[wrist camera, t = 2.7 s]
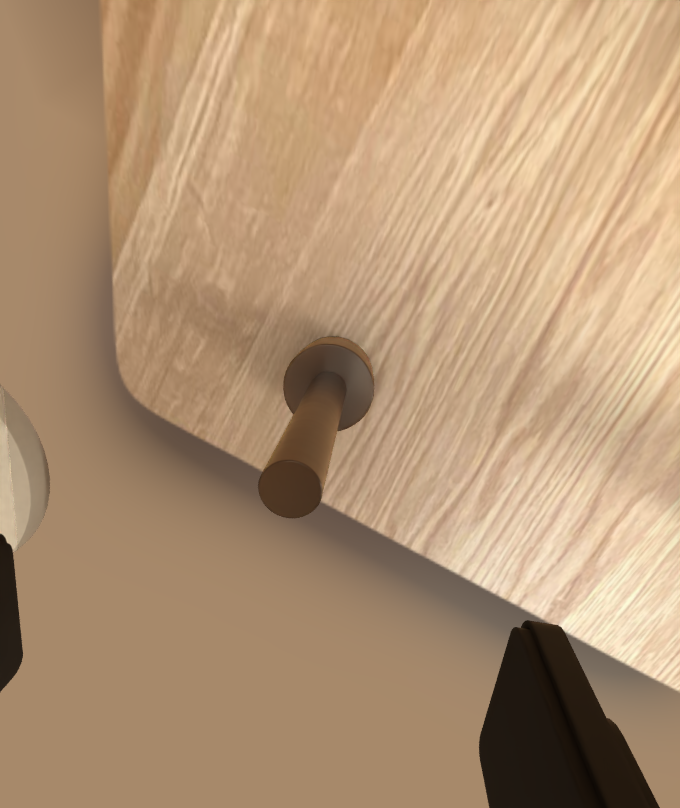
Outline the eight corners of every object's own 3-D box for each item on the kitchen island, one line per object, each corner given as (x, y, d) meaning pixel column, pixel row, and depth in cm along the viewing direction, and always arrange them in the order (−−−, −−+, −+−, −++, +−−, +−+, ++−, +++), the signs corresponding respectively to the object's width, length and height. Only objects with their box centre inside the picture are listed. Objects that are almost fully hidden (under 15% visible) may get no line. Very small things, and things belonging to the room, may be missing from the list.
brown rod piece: (289, 408, 30) (206, 547, 15) (297, 329, 28) (214, 401, 14) (367, 419, 29) (358, 571, 15) (380, 340, 28) (383, 426, 14)
